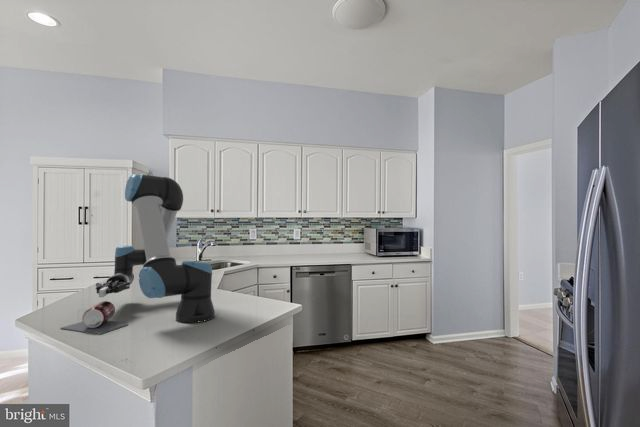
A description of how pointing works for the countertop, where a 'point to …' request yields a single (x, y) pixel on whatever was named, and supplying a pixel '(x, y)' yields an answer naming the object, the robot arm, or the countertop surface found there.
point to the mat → (99, 330)
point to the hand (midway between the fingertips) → (101, 293)
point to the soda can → (98, 314)
